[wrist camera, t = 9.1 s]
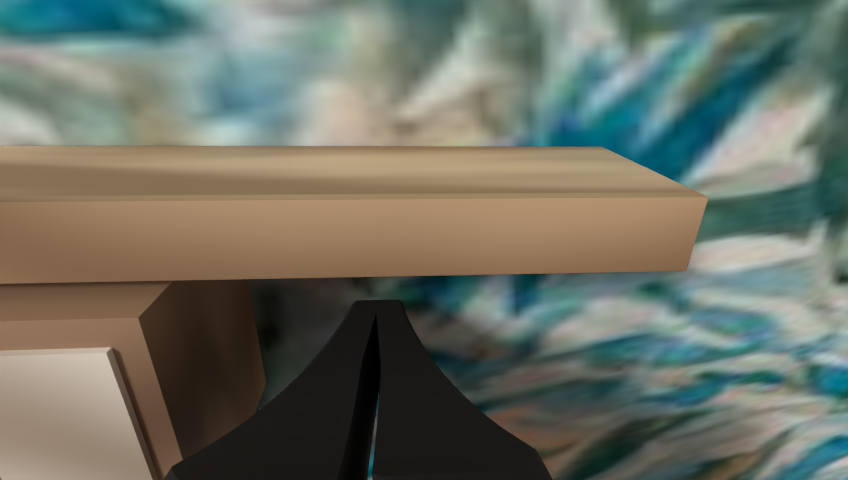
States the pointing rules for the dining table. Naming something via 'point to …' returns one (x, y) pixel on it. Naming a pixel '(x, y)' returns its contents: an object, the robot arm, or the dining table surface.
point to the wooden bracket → (334, 212)
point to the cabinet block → (122, 375)
